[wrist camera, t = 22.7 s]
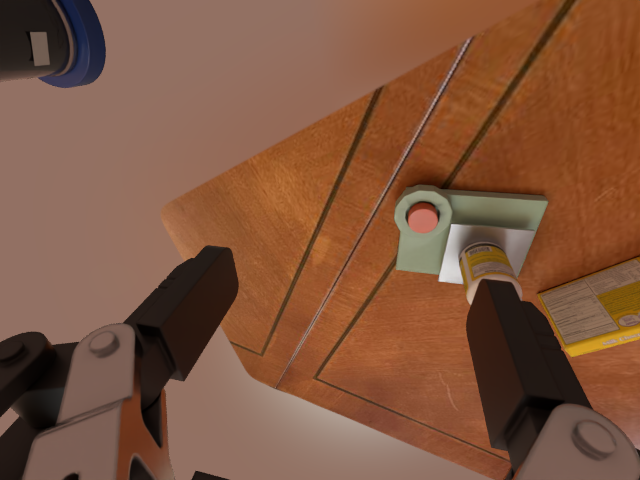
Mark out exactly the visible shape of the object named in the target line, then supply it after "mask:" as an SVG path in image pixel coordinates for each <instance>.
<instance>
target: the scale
mask: <svg viewBox="0 0 640 480" xmlns="http://www.w3.org/2000/svg"><path fill="white" fill-rule="evenodd" d="M421 202H425V203H429V204H431V205H433V206H434V207H435V209H436V211H437V216H438V224H437V226H436V227H435V229H433V230H432V231H430V232H428V233H417V232H415V231H413V230H412V229H411V228H410V227H409V224H408V212H409V210H410V208H411V207H412V206H413V205H415V204H417V203H421ZM547 204H548V200H547V199H546V198H545V196H542V195H527V194H511V193H495V192H479V191H464V190H448V189H439V188H437V187H435V186H433V185H416V186H414V187H406V190H405V191H404V192H403V193H402V194H401V195H400V197H399V198H398V199H397V200H396V205H395V214H394V221H395V223H396V224H397V226H398V228H399V230H400V237H399V245H398V253H397V260H396V270H404V271H412V272H421V273H429V274H438V275H439V273H440V269H441V264H442V260H443V256H444V251H445V247H446V242H447V238H448V234H449V229H450V225H451V223H461V224H473V225H484V226H496V227H508V228H520V229H532V230H535V233H536V231H537V228H538V226H539V223H540V221H541V219H542V216H543V214H544V211H545V209H546V206H547ZM535 233H534V235H533V238H534V236H535ZM533 238H532V240H531V243H532V241H533ZM531 243H530V245H531ZM530 245H529V248H530ZM529 248H528V250H529ZM528 250H527V253H528ZM527 253H526V255H527ZM526 255H525V258H526ZM525 258H524V260H525ZM524 260H523V262H522V265H523V263H524ZM522 265H521V267H522ZM521 267H520V270H521ZM520 270H519V272H520ZM519 272H518V275H519ZM518 275H517V277H518Z"/></svg>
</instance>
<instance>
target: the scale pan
mask: <svg viewBox="0 0 640 480" xmlns="http://www.w3.org/2000/svg"><path fill="white" fill-rule="evenodd" d="M534 233H535V230H532V229H520V228H508V227H496V226H484V225H473V224H461V223H451V225H450V229H449V234H448V238H447V242H446V247H445V251H444V256H443V260H442V264H441V269H440V273H439V277H438V281H441V282H449V283H457V284H463V279H462V275H461V271H460V267H459V257H460V255H461V253H462V251H463V250H464V249H465V248H466V247H468V246H469V245H471V244H474V243H477V242H491V243H494V244H497V245H498V246H500V247H501V248H502V249H503V250H504V252H505V253H506V256H507V258H508V260H509V262H510V264H511V266H512V269H513V271H514V273H515V275H516V277H517V275H518V272H519V270H520V267H521V265H522V262H523V260H524V258H525V255H526V253H527V250H528V248H529V245H530V243H531V240H532V238H533V235H534Z"/></svg>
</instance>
